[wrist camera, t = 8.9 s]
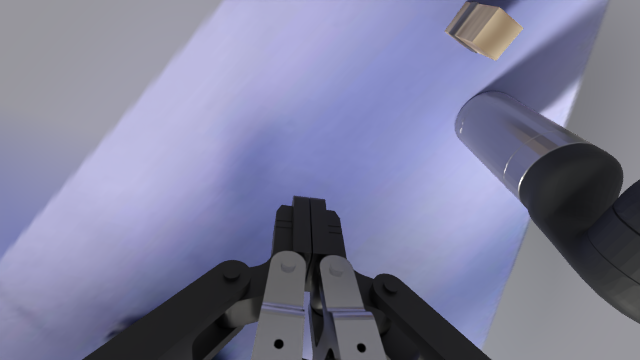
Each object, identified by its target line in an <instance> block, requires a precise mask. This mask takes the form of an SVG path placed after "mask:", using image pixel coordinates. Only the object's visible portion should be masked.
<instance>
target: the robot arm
mask: <svg viewBox="0 0 640 360" xmlns="http://www.w3.org/2000/svg"><path fill="white" fill-rule="evenodd" d="M455 131H456V134H457V137H458V138H459V139H460V140H461V142H462V143H463V144H464V145H465V146H466V147H467V148H468V149H469V150H470V151H471V152H472V153H473V154H474V155H475V156H476V157H477V158H478V159H479V160H480V161H481V162H482V163H483V164H484V165H485V166H486V167H487V168H488V169H489V170H490V171H491V172H492V173H493V174H494V175H495V176H496V177H497V178H498V179H499V180H500V181H501V182H502V183H503V184H504V185H505V186H506V188H507V189H508V190H509V191H510V192H512V193H513V194H514V196H515V197H516V198H517V199H518V200H519V201H520V202H521V203H522V204H523V205H524V206H525V207H526V208H527V209H528V212H529V215H530V217H531V219H532V220H533V222H534V223H535V224H536V225H537V226H538V227H539V229H540V230H541V231H542V232H543V233H544V234H545V235H546V237H547V238H548V239H549V240H550V241H551V242H552V244H553V245H554V246H555V247H556V248H557V250H558V251H559V252H560V253H561V254H562V256H563V257H564V258H565V259H566V260H567V262H568V263H569V264H570V265H571V267H572V268H573V269H574V270H575V271H576V272H577V273H578V274H579V275H580V277H581V278H582V279H583V280H584V281H585V282H586V283H587V284H588V285H589V286H590V287H591V288H592V289H593V290H594V291H595V292H596V293H597V294H598V295H599V296H600V297H602V298H603V299H604V300H605V301H607V302H608V303H609V304H610V305H612V306H613V307H614V308H615V309H617V310H618V311H620V312H621V313H622V314H624V315H626V316H627V317H629V318H631V319H632V320H634V321H636V322H638V323H639V324H640V180H638V181H637V182H635V183H634V184H633V185H632V186H630V187H629V188H628V189H627V190H626V191H625V192H624V193H623V194H621V195H620V197H619V198H618V196H619V193H620V191H621V187H622V184H623V170H622V167H621V165H620V163H619V162H618V161H617V160H616V159H615V158H614V157H613V156H612V155H610V154H608V153H607V152H606V151H604V150H602V149H600V148H598V147H597V146H595V145H593V144H591V143H590V142H588V141H586V140H584V139H583V138H581V137H579V136H578V135H576V134H574V133H572V132H570V131H569V130H567V129H565V128H563V127H562V126H560V125H558V124H556V123H555V122H553V121H551V120H549V119H548V118H546V117H544V116H543V115H541V114H539V113H537V112H536V111H534V110H532V109H530V108H529V107H527V106H525V105H523V104H522V103H520V102H519V101H517V100H515V99H513V98H512V97H510V96H508V95H506V94H504V93H502V92H498V91H489V92H485V93H482V94H479V95H477V96H475V97H474V98H472V99H471V100H470V101H469V102H467V103H466V104H465V105H464V107H463V108H462V109H461V111H460V112H459V114H458V116H457V119H456V123H455ZM304 291H307V292H310V301H309V305H308V313H309V323H310V332H311V341H312V350H313V359H312V360H491V359H490V358H489V357H488V356H487V355H485V354H484V353H483V352H482V351H481V350H480V349H479V348H477V347H476V346H475V345H474V344H473V343H472V342H471V341H469V340H468V339H467V338H466V337H465V336H464V335H463V334H461V333H460V332H459V331H458V330H457V329H456V328H455V327H453V326H452V325H451V324H450V323H449V322H448V321H447V320H445V319H444V318H443V317H442V316H441V315H440V314H439V313H437V312H436V311H435V310H434V309H433V308H432V307H431V306H429V305H428V304H427V303H426V302H425V301H424V300H423V299H421V298H420V297H419V296H418V295H417V294H416V293H415V292H413V291H412V290H411V289H410V288H409V287H408V286H407V285H405V284H404V283H403V282H402V281H401V280H400V279H398V278H397V277H395V276H393V275H390V274H379V275H377V276H376V277H375V278H374V279H372V278H370V277H367V276H364V275H362V274H359V273H358V272H356V271H355V270H354V269H353V267H352V265H351V263H350V262H349V261H348V260H347V258H346V252H345V246H344V240H343V235H342V229H341V223H340V218H339V217H338V215H337V214H336V212H335V211H331V210H326V203H325V199H319V198H309V197H301V196H293V201H292V206H287V205H281V206H280V208H279V209H278V210H277V212H276V219H275V225H274V232H273V241H272V251H271V258H270V259H269V260H268V261H267V262H266V263H264V264H262V265H259V266H255V267H250V268H249V267H248V266H247V265H246V264H245V263H243V262H241V261H237V260H228V261H224V262H222V263H220V264H218V265H217V266H216V267H214V268H213V269H211V270H210V271H208V272H207V273H206V274H204V275H203V276H201V277H200V278H198V279H197V280H196V281H194V282H193V283H191V284H190V285H188V286H187V287H185V288H184V289H183V290H181V291H180V292H178V293H177V294H175V295H174V296H173V297H171V298H170V299H168V300H167V301H165V302H164V303H163V304H161V305H160V306H158V307H157V308H155V309H154V310H153V311H151V312H150V313H148V314H147V315H145V316H144V317H143V318H141V319H140V320H138V321H137V322H135V323H134V324H133V325H131V326H130V327H128V328H127V329H125V330H124V331H123V332H121V333H120V334H118V335H117V336H115V337H114V338H112V339H111V340H110V341H108V342H107V343H105V344H104V345H102V346H101V347H100V348H98V349H97V350H95V351H94V352H92V353H91V354H90V355H88V356H87V357H85V358H84V359H82V360H211V359H212V358H213V357H214V356H215V355H216V354H217V353H218V352H219V351H220V350H221V349H222V348H223V347H224V346H225V345H226V344H227V343H228V342H229V341H230V340H231V339H232V338H234V337H235V336H236V335H237V334H238V333H239V332H240V331H241V330H242V329H243V327H244V326H245V325H246V324H250V323H254V322H257V321H258V327H257V332H256V337H255V342H254V347H253V352H252V357H251V360H307V359H304V358H302V351H303V335H304V319H305V311H304V310H303V302H304Z"/></svg>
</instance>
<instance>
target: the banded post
mask: <svg viewBox="0 0 640 360" xmlns="http://www.w3.org/2000/svg"><path fill="white" fill-rule="evenodd" d="M522 29H523V27H522V26H520V25H519V24H518V23H517V22H516V21H515V20H514V19H512V18H511V17H510V16H509V15H508V14H507V13H506V12H504V11H503V10H502V9H501V8H500V7H495V6H489V5H483V4H480V3H478V2H465V4H464V5H463V6H462V8H461V9H460V11H459V12H458V13H457V15H456V16H455V17H454V19H453V20H452V21H451V23H450V24H449V26H448V27H447V28H446V30H445V32H446V33H447V34H449V35H450V36H451V37H453V38H454V39H455V40H456V41H458V42H459V43H460V44H462V45H463V46H464V47H466V48H468V49H469V50H470V51H472V52H475V53H479V54H482V55H484V56H486V57H489V58H491V59H493V60H495V61H496V60H497V59H498V58H499V56H500V55H501V54H502V53H503V52H504V51H505V49H506V48H507V47H508V46H509V45H510V44H511V42H512V41H513V40H514V39H515V38H516V36H517V35H518V34H519V33H520V32H521V31H522Z"/></svg>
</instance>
